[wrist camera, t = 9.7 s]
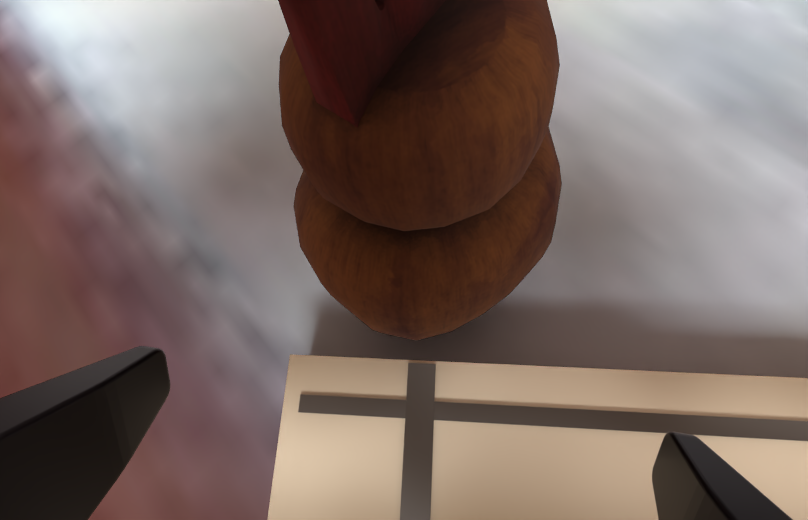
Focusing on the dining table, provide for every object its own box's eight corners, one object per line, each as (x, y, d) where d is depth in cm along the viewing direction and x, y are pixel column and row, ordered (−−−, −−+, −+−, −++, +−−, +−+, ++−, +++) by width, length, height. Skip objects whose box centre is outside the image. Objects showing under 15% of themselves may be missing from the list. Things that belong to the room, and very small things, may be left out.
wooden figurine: (393, 390, 16) (75, 54, 2) (312, 254, 18) (-131, -380, 4) (559, 282, 17) (1076, -452, 3) (464, 164, 19) (518, -618, 5)
